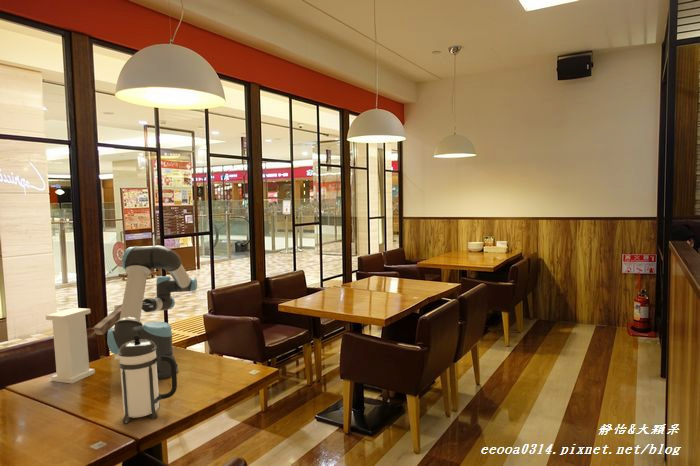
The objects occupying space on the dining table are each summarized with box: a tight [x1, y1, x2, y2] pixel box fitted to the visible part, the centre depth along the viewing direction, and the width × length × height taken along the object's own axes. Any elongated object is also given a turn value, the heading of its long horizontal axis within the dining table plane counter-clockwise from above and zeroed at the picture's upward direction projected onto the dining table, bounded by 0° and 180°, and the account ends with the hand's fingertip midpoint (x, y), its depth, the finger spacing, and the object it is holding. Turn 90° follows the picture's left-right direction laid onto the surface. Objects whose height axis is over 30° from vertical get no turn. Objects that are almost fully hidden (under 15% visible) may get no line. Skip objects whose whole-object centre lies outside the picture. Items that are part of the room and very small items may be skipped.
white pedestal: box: [45, 307, 96, 384], centre depth 207 cm, size 14×12×30 cm
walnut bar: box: [92, 304, 122, 336], centre depth 229 cm, size 24×4×4 cm, turn 163°
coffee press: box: [114, 335, 178, 424], centre depth 168 cm, size 17×16×30 cm
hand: (118, 308), depth 231 cm, fingers closed on walnut bar, 4 cm apart
